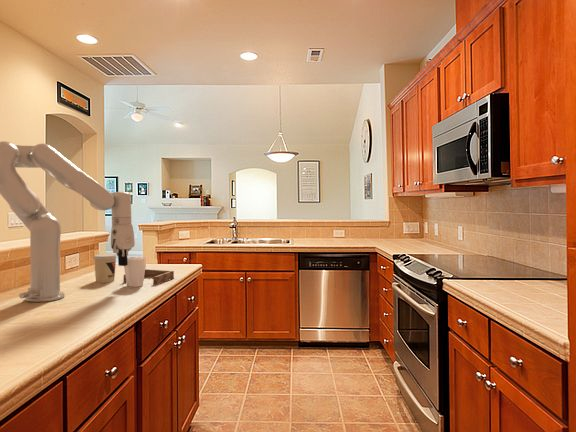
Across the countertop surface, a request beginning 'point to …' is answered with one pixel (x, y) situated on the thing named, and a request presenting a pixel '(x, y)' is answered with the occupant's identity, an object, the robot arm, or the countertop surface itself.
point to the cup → (135, 271)
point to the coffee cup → (105, 267)
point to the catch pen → (157, 275)
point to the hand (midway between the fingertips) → (122, 265)
